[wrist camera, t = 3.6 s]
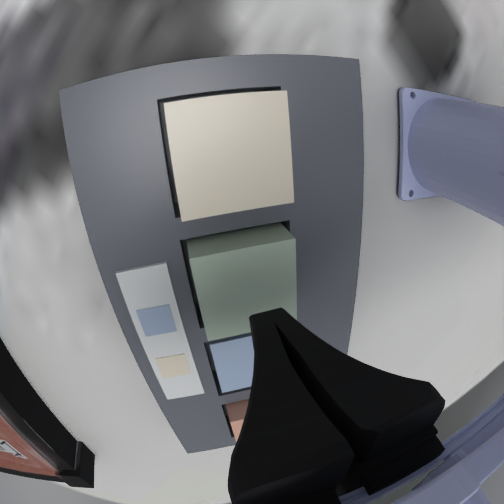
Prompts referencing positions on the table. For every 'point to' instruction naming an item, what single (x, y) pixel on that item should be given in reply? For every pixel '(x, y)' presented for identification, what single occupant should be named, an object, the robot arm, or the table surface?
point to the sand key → (230, 152)
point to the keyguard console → (177, 232)
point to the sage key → (243, 276)
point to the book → (36, 434)
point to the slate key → (233, 361)
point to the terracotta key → (237, 415)
